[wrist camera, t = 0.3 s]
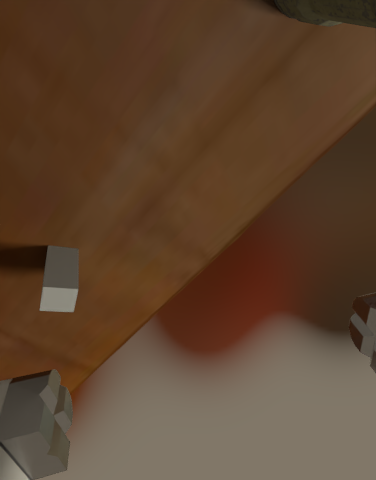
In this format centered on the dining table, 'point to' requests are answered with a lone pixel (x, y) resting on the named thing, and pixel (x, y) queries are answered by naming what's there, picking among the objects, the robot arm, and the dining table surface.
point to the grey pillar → (60, 279)
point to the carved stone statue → (330, 11)
